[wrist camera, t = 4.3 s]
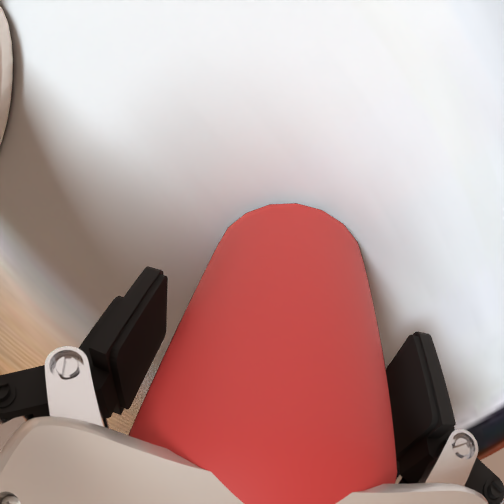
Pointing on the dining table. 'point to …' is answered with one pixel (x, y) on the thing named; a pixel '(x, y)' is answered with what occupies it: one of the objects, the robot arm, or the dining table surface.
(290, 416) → the beer can
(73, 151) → the dining table surface
